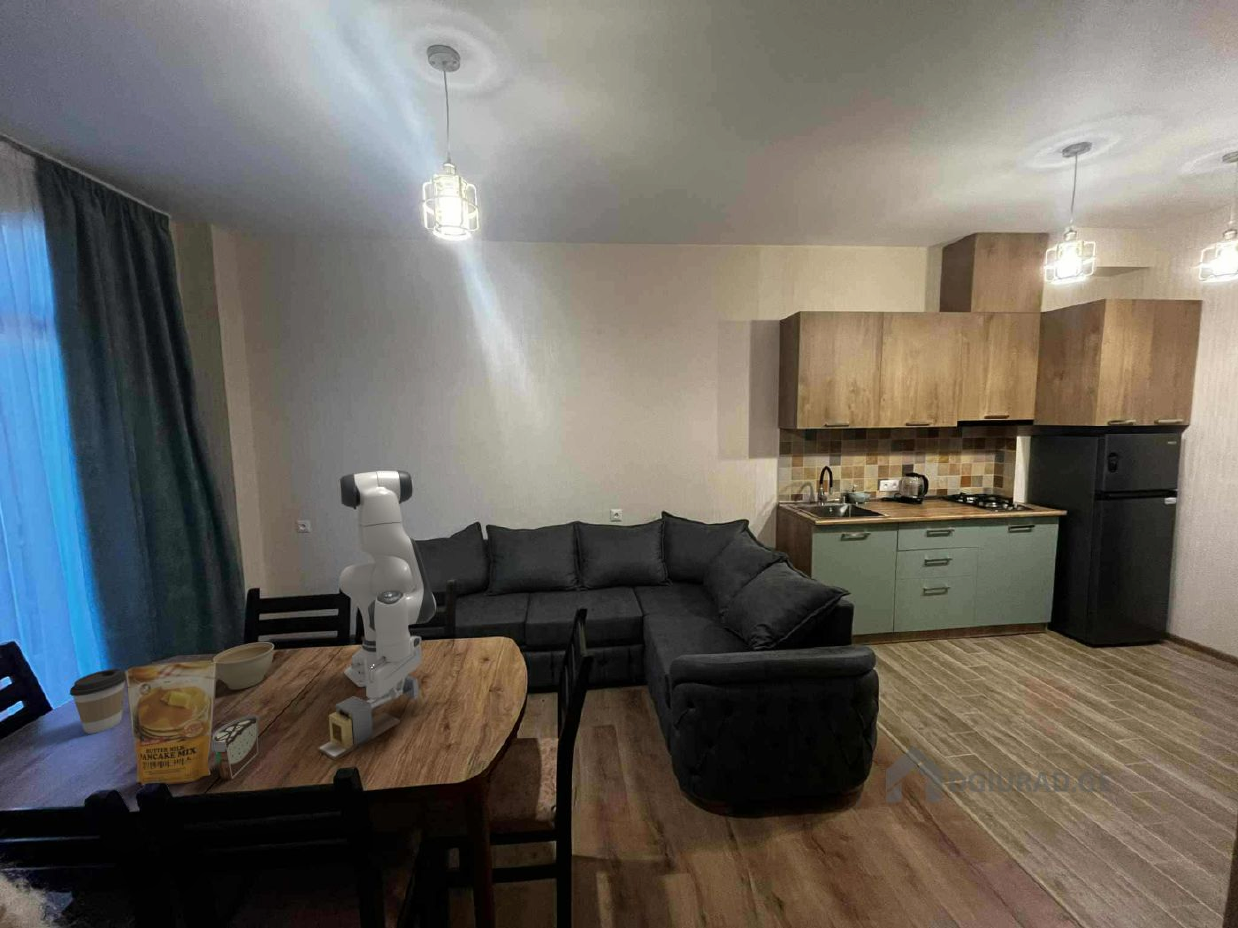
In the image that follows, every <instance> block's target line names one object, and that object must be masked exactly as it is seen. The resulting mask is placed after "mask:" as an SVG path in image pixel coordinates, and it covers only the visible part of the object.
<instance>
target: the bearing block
mask: <svg viewBox="0 0 1238 928" xmlns="http://www.w3.org/2000/svg"><path fill="white" fill-rule="evenodd" d="M367 701H368V700H364V699H362V698H359V697H357V696H355V695H353V696H351V697H348V698H346V699H345V700H342V701H340V702H338V703H336V704H335V712H338V713H340V714H342V715H344V716H346V717H348V718H350V719H351V720H352V734H353V745H354V746H356V745H357V747H356V749H358V748H360V746H362V745H364V744H365V743H367V742H369V741H370V740H369V739H368V738H370V737H371V736H372V738H373V729H372V718H373V715H372V711H371V703H369V702H367ZM340 731H341V726H340ZM341 734H342V733H341ZM370 739H371V738H370ZM373 739H374V738H373ZM364 740H365V742H364ZM367 740H368V741H367ZM371 740H372V739H371ZM366 741H367V742H366ZM360 744H362V745H360ZM358 745H359V746H358Z"/></svg>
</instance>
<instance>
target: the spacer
mask: <svg viewBox="0 0 1238 928" xmlns="http://www.w3.org/2000/svg"><path fill="white" fill-rule="evenodd" d="M328 724H329V738H330V740H329V741H331V742H333V743H334V744H336V745H338V746H340V747H341V748H343V749H345V750H346V749H348V748H350V747H351V746H353V734H352V720H351V719H350V718H348V717H346V716H344V715H342V714H340V713H338V712H336V711H335V712H333V713H331V714H329V715H328ZM340 726H341V731H340ZM341 733H342V734H341Z"/></svg>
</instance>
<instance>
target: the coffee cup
mask: <svg viewBox="0 0 1238 928" xmlns="http://www.w3.org/2000/svg"><path fill="white" fill-rule="evenodd" d="M125 683H126V677H125V673H124V672H123V671H122V669H120V668H111V669H105V670H100V671H96V672H93V673H90V674H87V675H84V676H82V677H80V678H78V679H77V680H76V681H74V683H73V686H71V688H70V690H69V695H71V696H72V697H73V700H74V703H75V707H76V709H77V713H78V716H79V720H80V722H81V724H82V729H83V731H84V732H85V733H86V735H87V734H89V735H91V734H92V735H93V734H97V733H101V732H102V733H103V732H105V731H107V730H110V729H112V728H114V727H116V726H117V725H119V724H120V723H121V722H122V719H123V718H122V717H123V706H124V705H123V704H124V695H125V694H124V693H125Z"/></svg>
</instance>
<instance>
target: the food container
mask: <svg viewBox="0 0 1238 928" xmlns="http://www.w3.org/2000/svg"><path fill="white" fill-rule="evenodd" d="M258 722H260V718H259V716H258V714H252V715H251V714H250V715H247V716H244V717H240V718H237V719H234V720H232V721H231V722H228V723H226V724H224V725H223V726H222V727H220V728H219V729H218V730H216V731H215V732H214V734H213V735H212V738H211V740H210V749H211V750H212V751H214V752H215V757H216V762H217V766H218V771H219V775H220V777H221V779H224V780H233V779H234V778H235V777H236V776H237V775H238V774H239V773H240V772H241V771H242V770H243V769H244V768H245V767H246V766H247V765H248V764H249V763H250V762H251V761H252V760H253V759H254V758H255V757H256V756H257V755H258V754H259V742H258V740H259V739H258V738H259V735H258V732H259V731H258V730H259V729H258V728H259V726H258V725H259V724H258Z"/></svg>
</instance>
